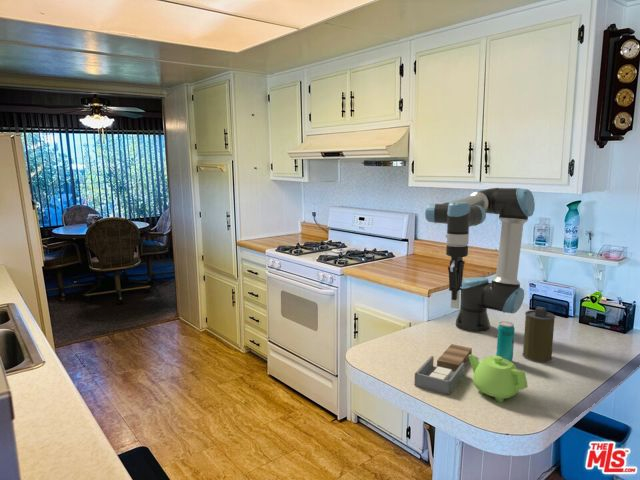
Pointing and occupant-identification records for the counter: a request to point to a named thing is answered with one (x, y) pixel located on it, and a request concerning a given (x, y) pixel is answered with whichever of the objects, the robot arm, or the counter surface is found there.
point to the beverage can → (505, 340)
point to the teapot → (497, 377)
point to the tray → (435, 383)
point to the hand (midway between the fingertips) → (454, 307)
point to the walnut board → (454, 357)
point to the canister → (538, 335)
